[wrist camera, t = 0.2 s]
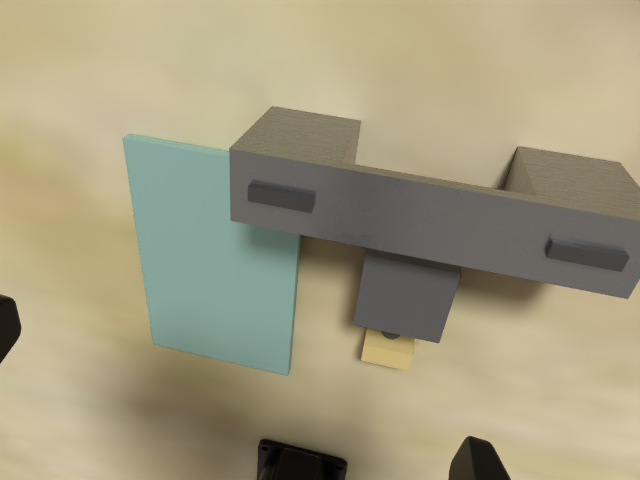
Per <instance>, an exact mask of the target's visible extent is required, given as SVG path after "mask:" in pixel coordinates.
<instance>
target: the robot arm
mask: <svg viewBox="0 0 640 480" xmlns="http://www.w3.org/2000/svg"><path fill="white" fill-rule="evenodd" d="M20 333H21V323H20V319H19V315H18V311H17V306H16V303H15V301H14V300H13V299H12V298H10V297H7V296H4V295H1V294H0V363H1V362H2V361H3V359H4V358H5V356H6V355H7V354H8V352H9V351H10V350H11V348H12V347H13V345H14V344H15V343H16V341H17V340H18V338H19V336H20ZM347 465H348V464H347V462H346V461H345V460H343V459H340V458H336V457H332V456H328V455H324V454H320V453H316V452H312V451H309V450H305V449H301V448H297V447H293V446H289V445H285V444H281V443H277V442H273V441H269V440H261V441H260V444H259V446H258V472H257V480H345V475H346V470H347ZM449 480H511V479H510V477H509V475H508V473H507V471H506V469H505V468H504V466H503V464H502V462H501V460H500V458H499V456H498V454H497V452H496V451H495V449H494V447H493V445H492V444H491V443H490V442H488V441H486V440H482V439H479V438H476V437H473V436H468V437H466V439H465V440H464V441H463V443H462V445H461V446H460V448H459V450H458V451H457V453H456V455H455V456H454V458H453V460H452V462H451V466H450V470H449Z"/></svg>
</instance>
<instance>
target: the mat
mask: <svg viewBox="0 0 640 480" xmlns="http://www.w3.org/2000/svg"><path fill="white" fill-rule="evenodd" d="M123 144H124V151H125V158H126V165H127V171H128V178H129V185H130V192H131V198H132V205H133V212H134V219H135V225H136V232H137V239H138V246H139V252H140V259H141V266H142V273H143V280H144V286H145V293H146V300H147V307H148V313H149V320H150V327H151V334H152V340H153V344H155V345H159V346H163V347H167V348H171V349H176V350H180V351H184V352H188V353H193V354H197V355H201V356H205V357H209V358H214V359H218V360H222V361H226V362H231V363H235V364H239V365H243V366H247V367H252V368H256V369H260V370H264V371H269V372H273V373H277V374H281V375H286V376H288V374H289V371H290V366H291V354H292V342H293V330H294V318H295V306H296V294H297V282H298V269H299V257H300V245H301V235H299V234H294V233H289V232H284V231H279V230H274V229H269V228H264V227H259V226H254V225H248V224H243V223H238V222H233V221H230V164H229V151H223V150H218V149H212V148H206V147H201V146H195V145H189V144H184V143H178V142H172V141H167V140H161V139H155V138H150V137H144V136H139V135H133V134H128V135H127V136H125V137H124V138H123Z"/></svg>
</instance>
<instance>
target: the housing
mask: <svg viewBox="0 0 640 480" xmlns="http://www.w3.org/2000/svg"><path fill="white" fill-rule="evenodd" d="M360 124H361V121H359V120H352V119H346V118H340V117H334V116H328V115H321V114H315V113H309V112H303V111H297V110H291V109H284V108H278V107H271V108H270V109H269V110H268V111H267V112H266V113H265V114H264V115H263V116H262V117H261V118H260V119H259V120H258V121H257V122H256V123H255V124H254V125H253V126H252V127H251V128H250V129H249V130H248V131H247V132H246V133H245V134H244V135H243V136H242V137H241V138H239V139H238V140H237V141H236V142H235V143H234V144H233V145H232V146H231V147H230V148H229V164H230V221H233V222H238V223H243V224H248V225H254V226H259V227H264V228H269V229H274V230H279V231H284V232H289V233H294V234H299V235H304V236H310V237H315V238H320V239H325V240H330V241H335V242H340V243H345V244H350V245H355V246H360V247H366V248H371V249H376V250H381V251H386V252H391V253H396V254H401V255H406V256H411V257H417V258H422V259H427V260H432V261H437V262H442V263H447V264H452V265H457V266H462V267H467V268H473V269H478V270H483V271H488V272H493V273H498V274H503V275H508V276H513V277H518V278H523V279H529V280H534V281H539V282H544V283H549V284H554V285H559V286H564V287H569V288H574V289H580V290H585V291H590V292H595V293H600V294H605V295H610V296H615V297H620V298H625V299H628V298H629V296H630V294H631V293H632V291H633V289H634V288H635V286H636V284H637V283H638V281H639V279H640V187H639V186H638V185H637V183H636V182H635V181H634V180H633V178H632V177H631V176H630V175H629V173H628V172H627V171H626V170H625V168H624V167H623V166H622V165H621V163H618V162H612V161H606V160H600V159H593V158H587V157H581V156H575V155H569V154H563V153H556V152H550V151H544V150H538V149H532V148H525V147H519V146H518V148H517V151H516V154H515V157H514V159H513V162H512V165H511V168H510V171H509V174H508V177H507V180H506V183H505V186H504V189H503V190H498V189H493V188H487V187H481V186H475V185H470V184H464V183H458V182H452V181H447V180H441V179H435V178H429V177H424V176H418V175H412V174H406V173H401V172H395V171H389V170H383V169H378V168H372V167H366V166H360V165H355V159H356V152H357V145H358V138H359V131H360Z"/></svg>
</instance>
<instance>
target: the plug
mask: <svg viewBox="0 0 640 480" xmlns="http://www.w3.org/2000/svg"><path fill="white" fill-rule="evenodd" d="M460 277H461V266H457V265H452V264H447V263H442V262H437V261H432V260H427V259H422V258H417V257H411V256H406V255H401V254H396V253H391V252H386V251H381V250H376V249H371V248H367V250H366V254H365V259H364V265H363V270H362V276H361V282H360V287H359V293H358V299H357V304H356V310H355V316H354V321H353V325H357V326H362V327H366V328H367V331H366V336H365V341H364V346H363V351H362V357H361V361H366V362H370V363H374V364H379V365H383V366H388V367H392V368H396V369H401V370H405V371H409V368H410V365H411V361H412V358H413V350H414V338H417V339H421V340H426V341H431V342H435V343H439V342H440V339H441V336H442V332H443V329H444V326H445V323H446V320H447V317H448V314H449V311H450V308H451V305H452V302H453V299H454V295H455V292H456V289H457V286H458V283H459V280H460Z"/></svg>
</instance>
